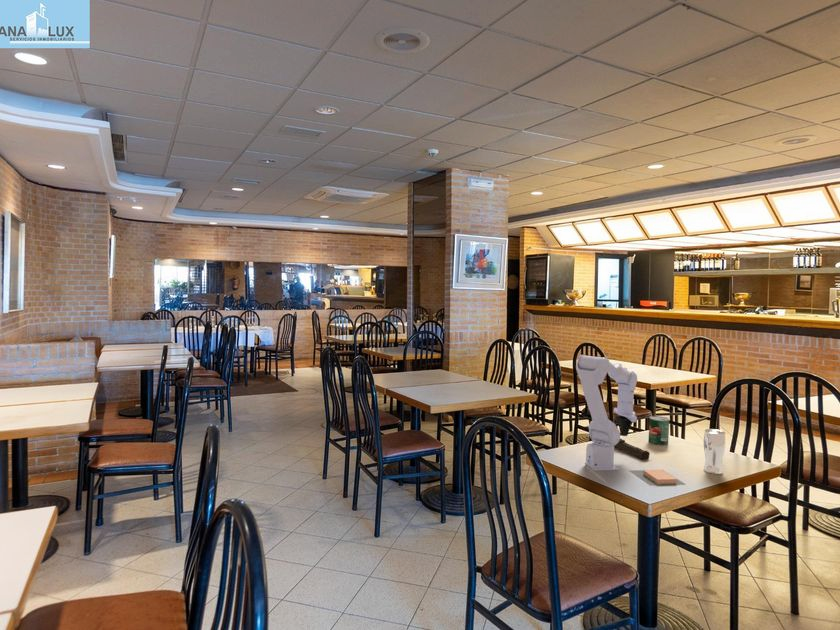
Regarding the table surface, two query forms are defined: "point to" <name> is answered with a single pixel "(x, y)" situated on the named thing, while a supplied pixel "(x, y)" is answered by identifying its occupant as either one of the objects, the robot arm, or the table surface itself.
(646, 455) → the hand tool
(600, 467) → the robot arm
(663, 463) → the table surface
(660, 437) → the canned tomato
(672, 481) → the tile
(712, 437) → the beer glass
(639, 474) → the mat
